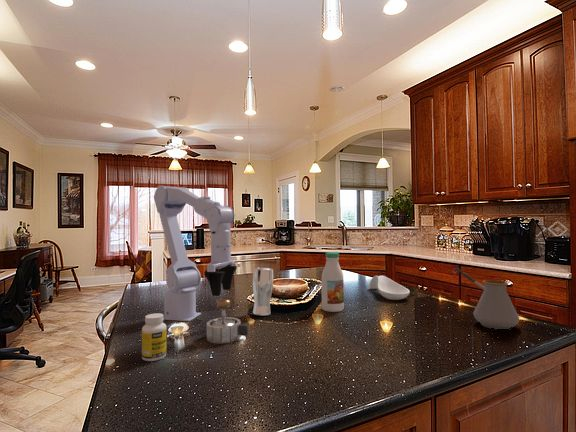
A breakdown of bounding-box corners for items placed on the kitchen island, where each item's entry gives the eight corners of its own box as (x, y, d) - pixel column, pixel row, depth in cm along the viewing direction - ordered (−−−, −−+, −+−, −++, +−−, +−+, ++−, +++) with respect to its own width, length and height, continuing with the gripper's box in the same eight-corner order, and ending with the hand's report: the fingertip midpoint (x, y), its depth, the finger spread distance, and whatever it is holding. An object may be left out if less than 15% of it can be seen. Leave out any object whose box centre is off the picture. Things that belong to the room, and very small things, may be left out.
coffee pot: (529, 330, 92) (529, 276, 92) (498, 334, 89) (497, 279, 89) (468, 309, 113) (468, 266, 113) (441, 312, 110) (440, 267, 110)
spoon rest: (415, 301, 125) (415, 282, 125) (387, 303, 122) (387, 284, 122) (384, 288, 148) (384, 272, 148) (360, 289, 145) (360, 273, 145)
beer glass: (268, 316, 106) (270, 270, 107) (248, 314, 108) (250, 268, 108) (274, 312, 113) (276, 268, 114) (255, 310, 114) (257, 267, 115)
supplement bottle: (151, 364, 73) (151, 320, 73) (137, 358, 76) (136, 316, 76) (171, 355, 78) (171, 314, 78) (157, 350, 81) (156, 310, 81)
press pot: (200, 342, 86) (200, 326, 86) (215, 330, 95) (215, 316, 95) (241, 345, 84) (241, 329, 84) (252, 332, 92) (252, 318, 92)
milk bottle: (319, 311, 113) (318, 253, 113) (325, 305, 120) (324, 251, 120) (341, 313, 110) (340, 254, 110) (346, 307, 117) (345, 251, 117)
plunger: (208, 328, 87) (207, 302, 87) (218, 320, 93) (217, 297, 93) (230, 329, 86) (229, 304, 86) (238, 322, 92) (238, 298, 92)
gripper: (223, 248, 89) (224, 299, 89) (242, 244, 103) (242, 287, 103) (199, 248, 90) (200, 298, 90) (221, 244, 104) (221, 287, 104)
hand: (221, 292), depth 97 cm, fingers open, 7 cm apart
